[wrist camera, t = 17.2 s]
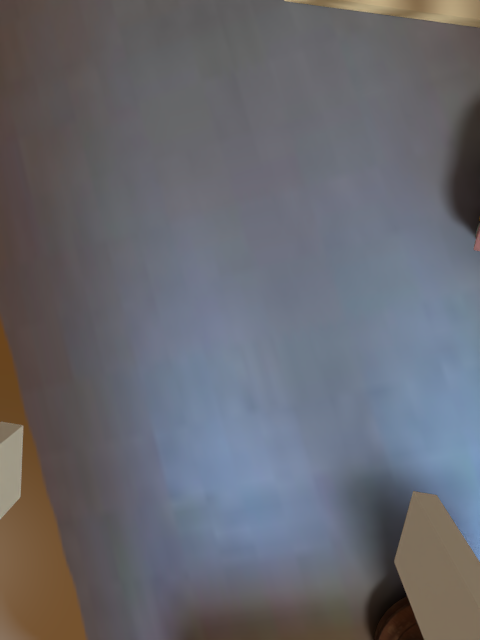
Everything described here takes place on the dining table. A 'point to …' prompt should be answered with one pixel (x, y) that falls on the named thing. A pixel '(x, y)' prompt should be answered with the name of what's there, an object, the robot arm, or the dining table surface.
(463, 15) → the birch board
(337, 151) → the dining table surface
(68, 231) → the dining table surface
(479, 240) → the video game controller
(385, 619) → the brown wooden upright piece
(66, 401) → the dining table surface
